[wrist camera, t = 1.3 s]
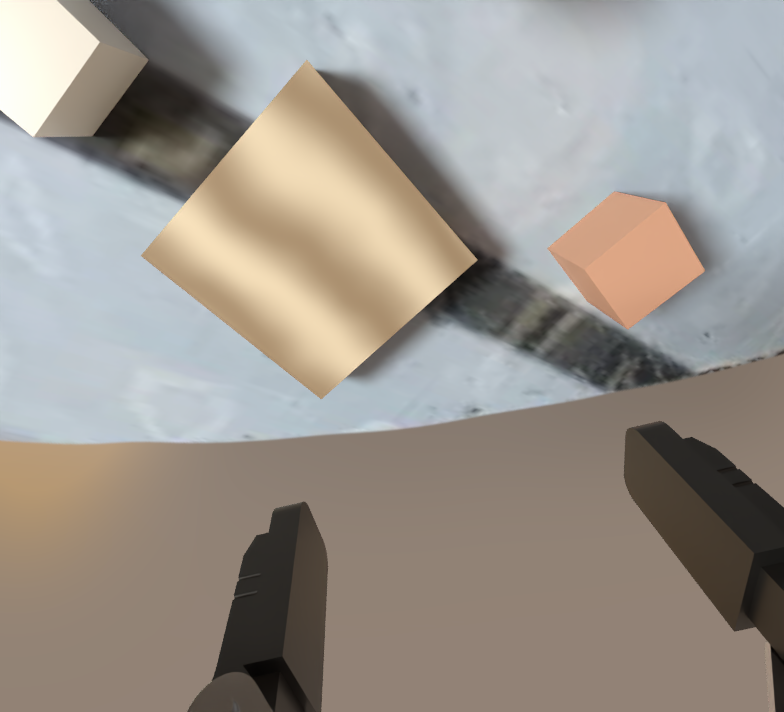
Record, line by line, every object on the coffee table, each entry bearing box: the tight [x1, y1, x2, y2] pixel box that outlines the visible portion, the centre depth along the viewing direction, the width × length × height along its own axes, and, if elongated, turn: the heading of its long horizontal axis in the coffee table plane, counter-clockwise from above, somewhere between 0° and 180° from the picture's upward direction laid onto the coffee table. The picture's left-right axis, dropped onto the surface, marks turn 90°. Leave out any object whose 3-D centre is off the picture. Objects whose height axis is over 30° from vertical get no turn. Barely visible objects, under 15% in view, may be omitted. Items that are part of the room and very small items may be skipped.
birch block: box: [141, 60, 477, 399], centre depth 28 cm, size 14×14×4 cm
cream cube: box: [0, 0, 149, 137], centre depth 21 cm, size 6×6×6 cm
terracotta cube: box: [547, 192, 705, 329], centre depth 29 cm, size 6×6×6 cm
